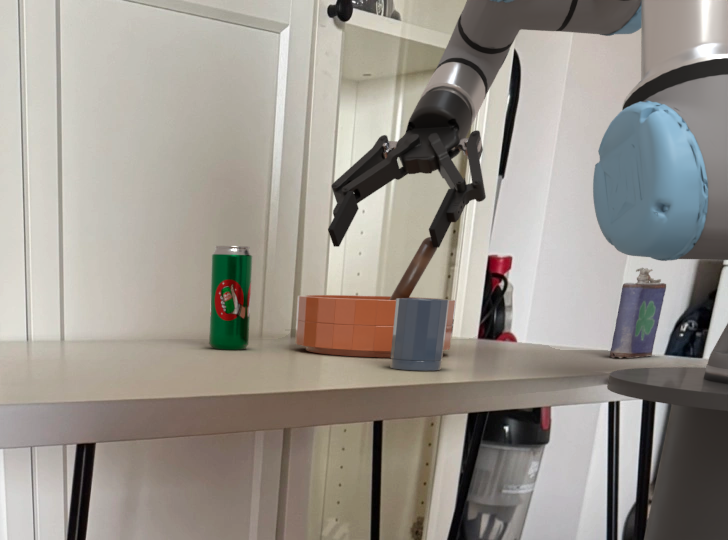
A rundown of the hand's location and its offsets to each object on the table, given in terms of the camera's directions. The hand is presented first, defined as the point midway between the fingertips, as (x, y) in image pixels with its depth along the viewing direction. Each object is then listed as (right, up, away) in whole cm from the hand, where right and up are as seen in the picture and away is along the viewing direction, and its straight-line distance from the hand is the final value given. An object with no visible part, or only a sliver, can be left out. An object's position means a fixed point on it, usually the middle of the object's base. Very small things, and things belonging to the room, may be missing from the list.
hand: (382, 238), depth 127 cm
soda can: (-19, -12, +6) cm, 23 cm away
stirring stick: (0, -11, +5) cm, 12 cm away
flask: (+34, -12, +9) cm, 37 cm away
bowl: (0, -12, +5) cm, 13 cm away
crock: (+1, -21, -15) cm, 26 cm away
